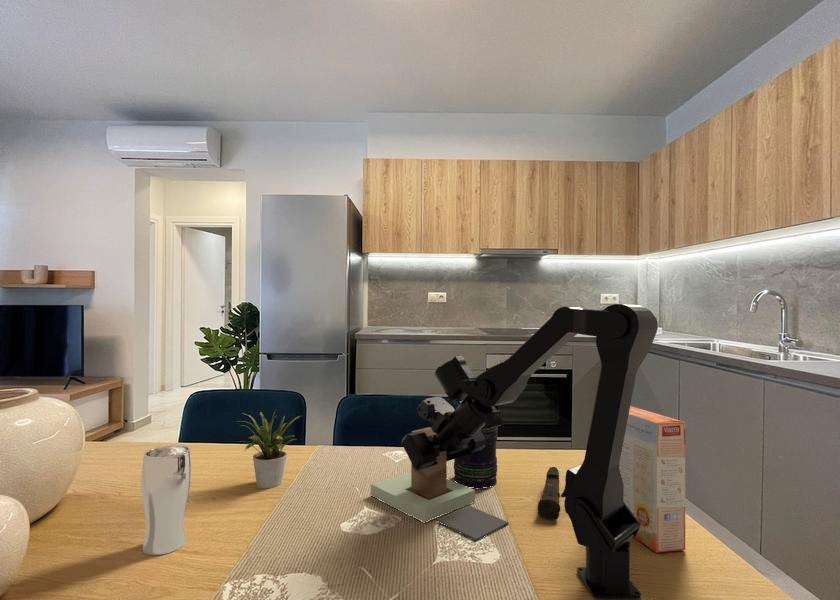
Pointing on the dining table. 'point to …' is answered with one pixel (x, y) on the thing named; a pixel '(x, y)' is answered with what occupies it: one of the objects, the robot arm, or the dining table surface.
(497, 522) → the rubber mat
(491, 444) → the storage jar
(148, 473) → the beer glass
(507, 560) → the dining table surface
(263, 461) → the house plant
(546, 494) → the hand tool
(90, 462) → the dining table surface
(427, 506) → the square socket block
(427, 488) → the wooden block
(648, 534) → the cracker box
